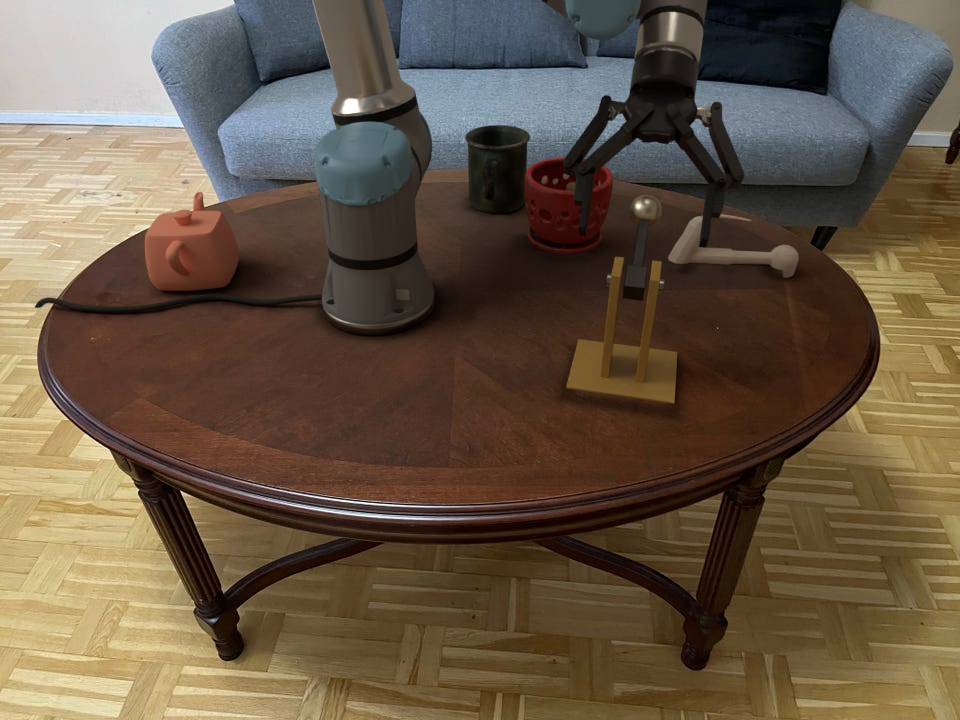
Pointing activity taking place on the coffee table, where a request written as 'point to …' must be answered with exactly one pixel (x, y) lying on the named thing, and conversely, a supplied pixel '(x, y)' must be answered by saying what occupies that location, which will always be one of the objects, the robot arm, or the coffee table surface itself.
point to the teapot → (191, 249)
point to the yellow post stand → (626, 353)
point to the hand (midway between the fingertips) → (641, 238)
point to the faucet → (729, 251)
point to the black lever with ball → (640, 244)
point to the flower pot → (563, 208)
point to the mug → (497, 167)
